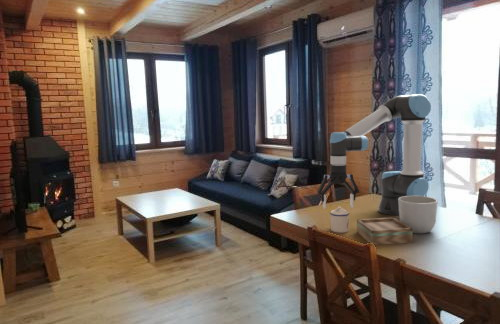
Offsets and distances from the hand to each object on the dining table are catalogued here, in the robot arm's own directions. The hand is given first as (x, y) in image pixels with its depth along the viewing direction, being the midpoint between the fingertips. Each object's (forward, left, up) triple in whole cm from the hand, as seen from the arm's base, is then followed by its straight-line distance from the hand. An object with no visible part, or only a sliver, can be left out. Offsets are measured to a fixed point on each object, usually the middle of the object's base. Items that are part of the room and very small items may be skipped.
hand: (338, 207), depth 184 cm
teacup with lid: (0, 0, -11) cm, 11 cm away
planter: (-35, +9, -11) cm, 38 cm away
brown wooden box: (-16, +15, -11) cm, 25 cm away
